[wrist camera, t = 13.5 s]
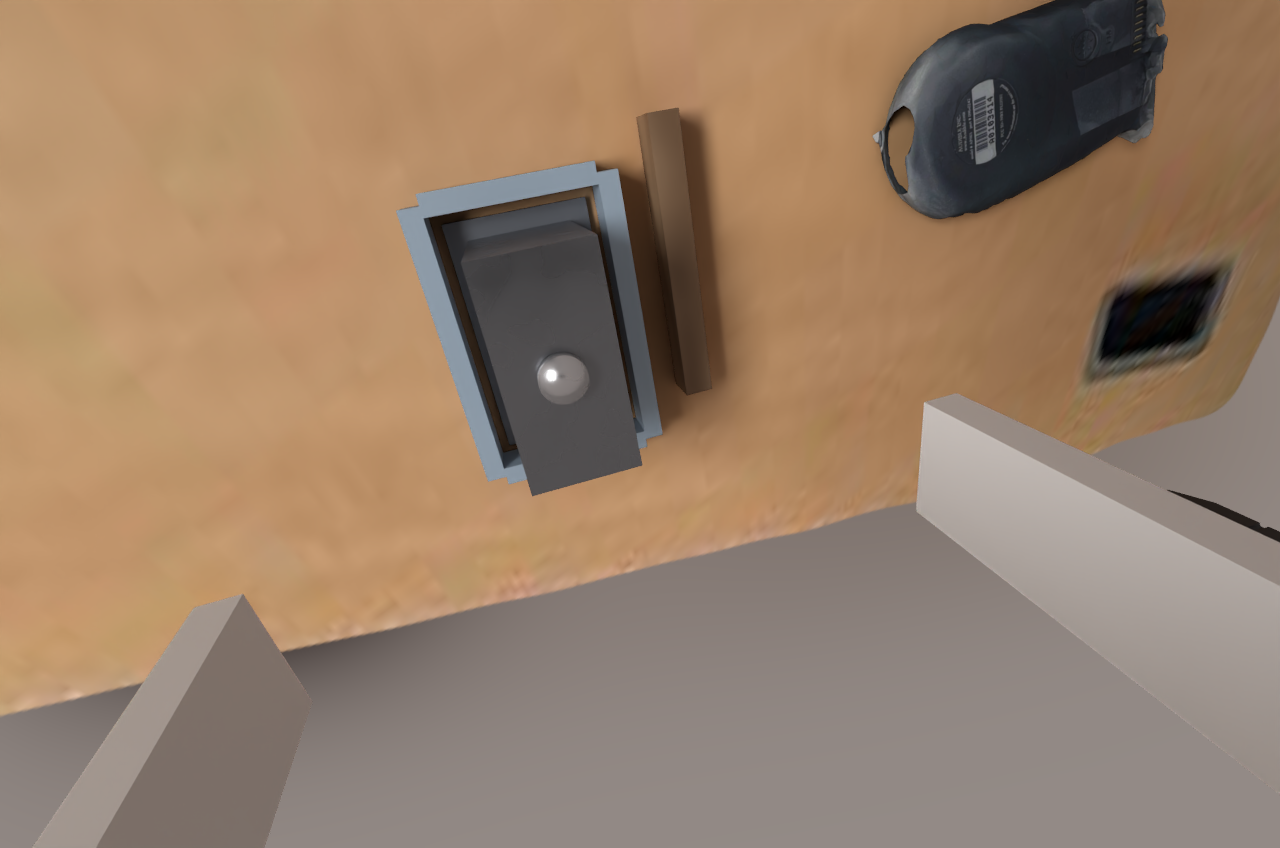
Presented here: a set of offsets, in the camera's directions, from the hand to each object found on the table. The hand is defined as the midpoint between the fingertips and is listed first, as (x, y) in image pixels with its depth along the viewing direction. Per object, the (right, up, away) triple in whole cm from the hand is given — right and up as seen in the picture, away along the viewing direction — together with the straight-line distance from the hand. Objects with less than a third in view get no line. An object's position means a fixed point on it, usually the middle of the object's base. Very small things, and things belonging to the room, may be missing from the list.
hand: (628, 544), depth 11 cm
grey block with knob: (-5, +7, +18) cm, 20 cm away
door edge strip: (+2, +11, +19) cm, 22 cm away
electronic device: (+20, +20, +21) cm, 35 cm away
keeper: (-5, +7, +19) cm, 21 cm away
